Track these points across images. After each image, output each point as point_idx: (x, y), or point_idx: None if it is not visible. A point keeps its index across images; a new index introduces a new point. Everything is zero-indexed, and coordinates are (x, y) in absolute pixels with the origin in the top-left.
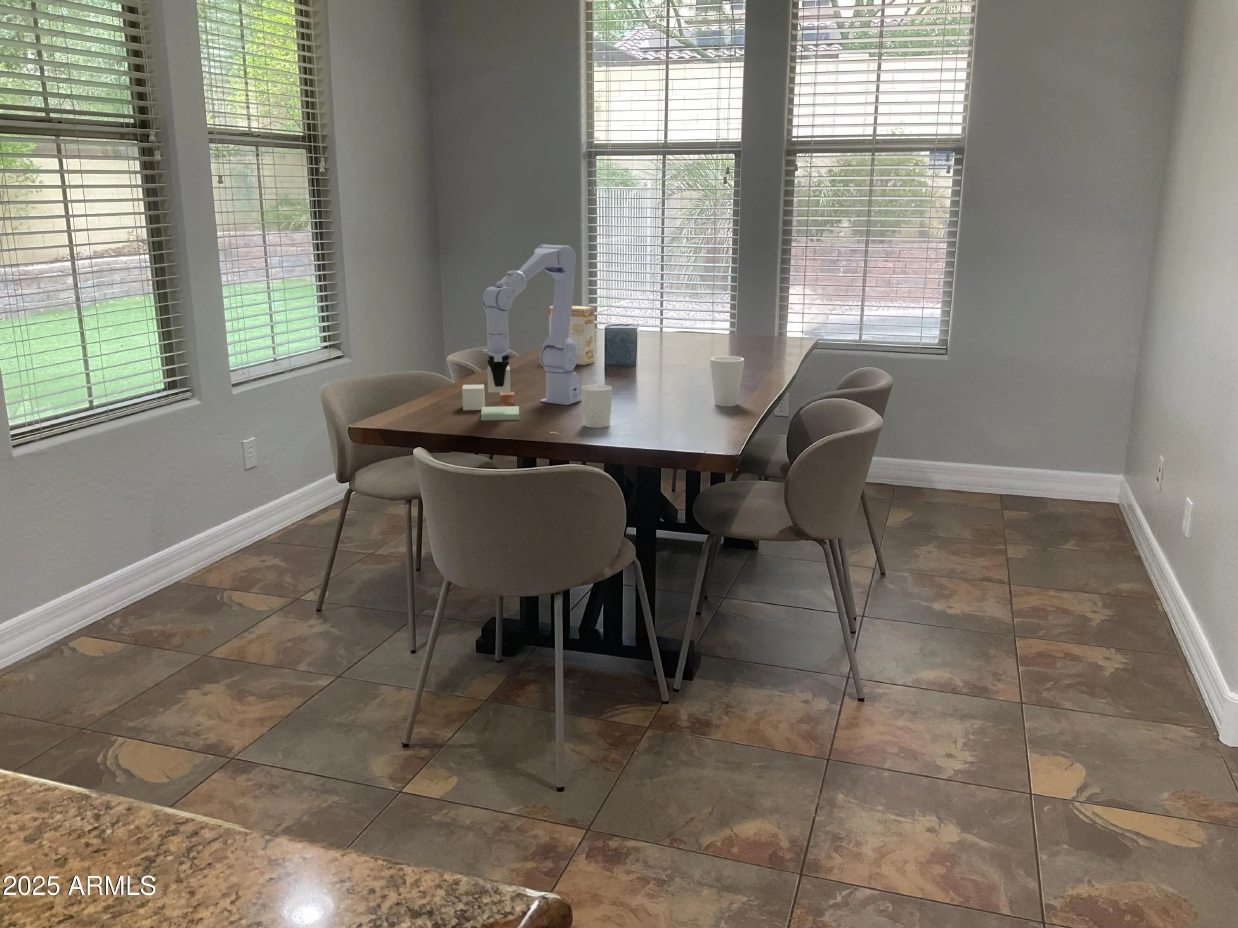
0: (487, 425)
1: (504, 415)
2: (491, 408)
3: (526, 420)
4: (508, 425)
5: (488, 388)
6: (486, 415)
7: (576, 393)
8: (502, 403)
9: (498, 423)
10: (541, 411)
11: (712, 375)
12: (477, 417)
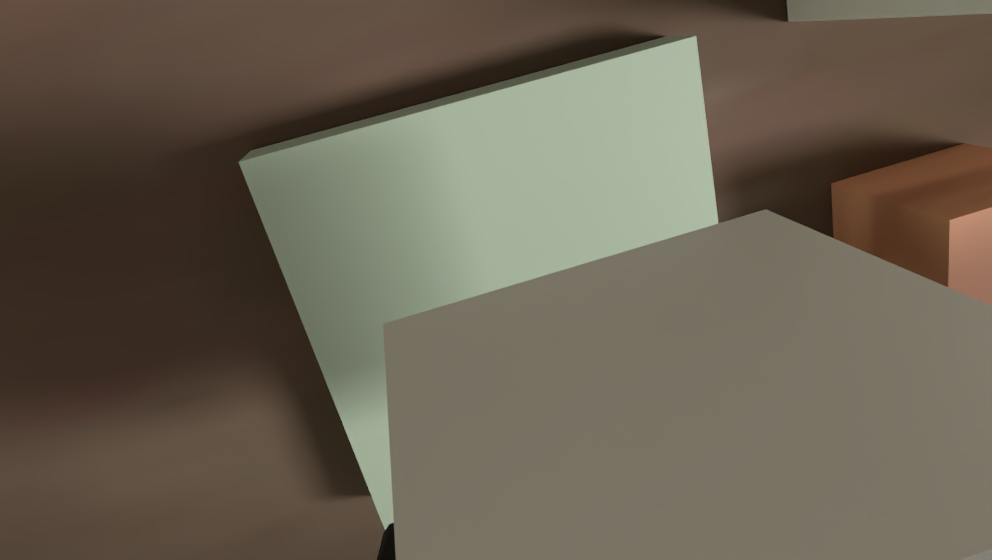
0: (34, 295)
1: (336, 406)
2: (616, 180)
3: (374, 555)
4: (118, 486)
5: (387, 368)
6: (268, 225)
7: None
8: (873, 219)
9: (173, 372)
10: None
11: None
12: (403, 55)
